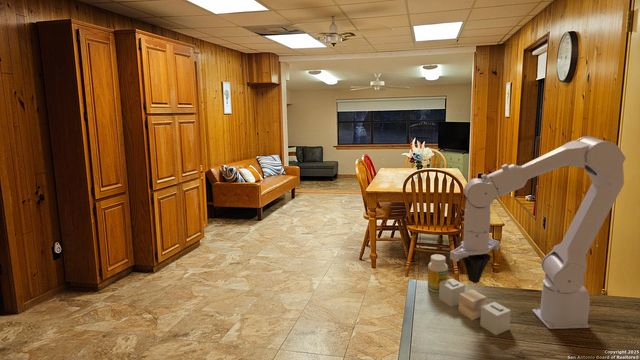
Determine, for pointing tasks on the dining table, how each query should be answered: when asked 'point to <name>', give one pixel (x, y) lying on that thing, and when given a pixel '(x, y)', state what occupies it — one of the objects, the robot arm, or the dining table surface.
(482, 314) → the marked block 1
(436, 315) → the dining table surface
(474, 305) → the plain block
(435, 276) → the supplement bottle
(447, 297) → the marked block 7
